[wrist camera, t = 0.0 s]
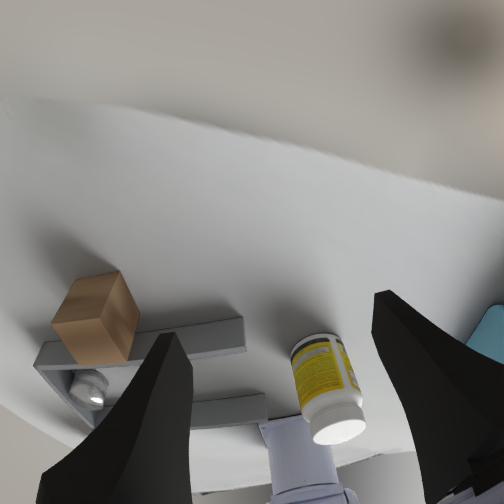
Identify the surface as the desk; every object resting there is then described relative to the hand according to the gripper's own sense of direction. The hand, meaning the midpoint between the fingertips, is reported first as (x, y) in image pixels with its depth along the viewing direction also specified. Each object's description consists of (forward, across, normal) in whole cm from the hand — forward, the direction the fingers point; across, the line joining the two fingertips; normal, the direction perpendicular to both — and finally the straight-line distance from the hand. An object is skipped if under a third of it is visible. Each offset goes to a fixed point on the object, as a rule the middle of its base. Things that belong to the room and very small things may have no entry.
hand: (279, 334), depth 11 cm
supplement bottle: (+10, -3, +14) cm, 17 cm away
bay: (+10, +12, +14) cm, 21 cm away
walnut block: (+10, +12, +4) cm, 16 cm away
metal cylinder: (+10, +19, +14) cm, 25 cm away
